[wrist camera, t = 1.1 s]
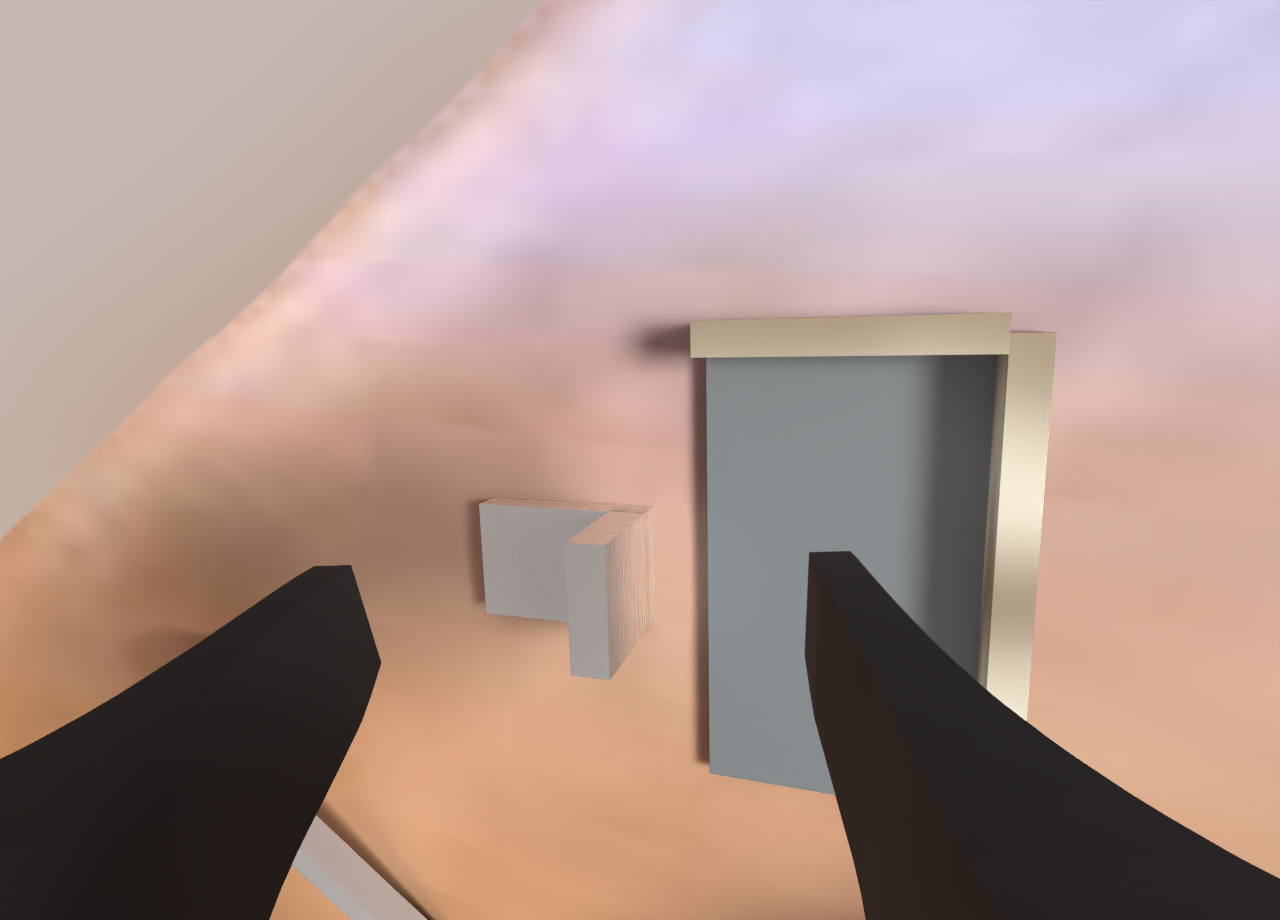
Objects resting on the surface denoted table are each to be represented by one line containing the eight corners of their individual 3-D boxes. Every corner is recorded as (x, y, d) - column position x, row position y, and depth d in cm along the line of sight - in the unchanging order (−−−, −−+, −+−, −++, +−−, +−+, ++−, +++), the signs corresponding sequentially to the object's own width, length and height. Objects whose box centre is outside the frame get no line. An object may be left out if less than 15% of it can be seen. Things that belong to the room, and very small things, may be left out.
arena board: (966, 805, 23) (967, 817, 22) (713, 763, 25) (709, 773, 25) (994, 350, 20) (997, 351, 20) (710, 353, 23) (706, 354, 22)
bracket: (653, 506, 24) (604, 545, 20) (655, 619, 25) (609, 680, 21) (493, 497, 26) (418, 531, 22) (500, 603, 27) (428, 655, 23)
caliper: (226, 646, 32) (78, 719, 26) (239, 633, 32) (91, 705, 26) (511, 1030, 31) (423, 1197, 25) (528, 1021, 30) (443, 1189, 24)
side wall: (994, 350, 20) (1008, 353, 18) (710, 353, 23) (690, 358, 20) (996, 313, 20) (1011, 312, 18) (710, 321, 22) (690, 321, 20)
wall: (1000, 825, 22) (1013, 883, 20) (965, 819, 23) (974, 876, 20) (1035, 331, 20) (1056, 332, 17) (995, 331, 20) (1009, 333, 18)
